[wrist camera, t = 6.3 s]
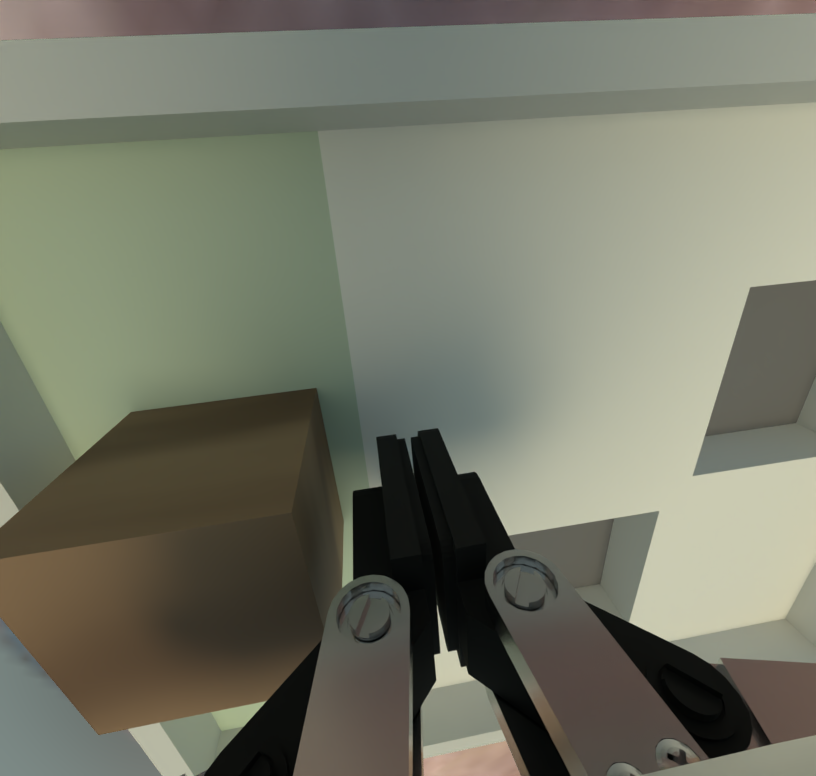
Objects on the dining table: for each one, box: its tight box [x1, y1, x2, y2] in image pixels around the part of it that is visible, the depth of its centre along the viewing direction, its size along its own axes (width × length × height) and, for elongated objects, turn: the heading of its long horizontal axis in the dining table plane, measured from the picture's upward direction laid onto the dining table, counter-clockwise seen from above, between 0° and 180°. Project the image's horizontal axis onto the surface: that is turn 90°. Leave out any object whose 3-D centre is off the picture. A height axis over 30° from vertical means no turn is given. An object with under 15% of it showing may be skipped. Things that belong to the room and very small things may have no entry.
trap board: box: [0, 13, 816, 776], centre depth 14 cm, size 24×30×4 cm
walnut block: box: [0, 388, 344, 735], centre depth 9 cm, size 5×5×5 cm
